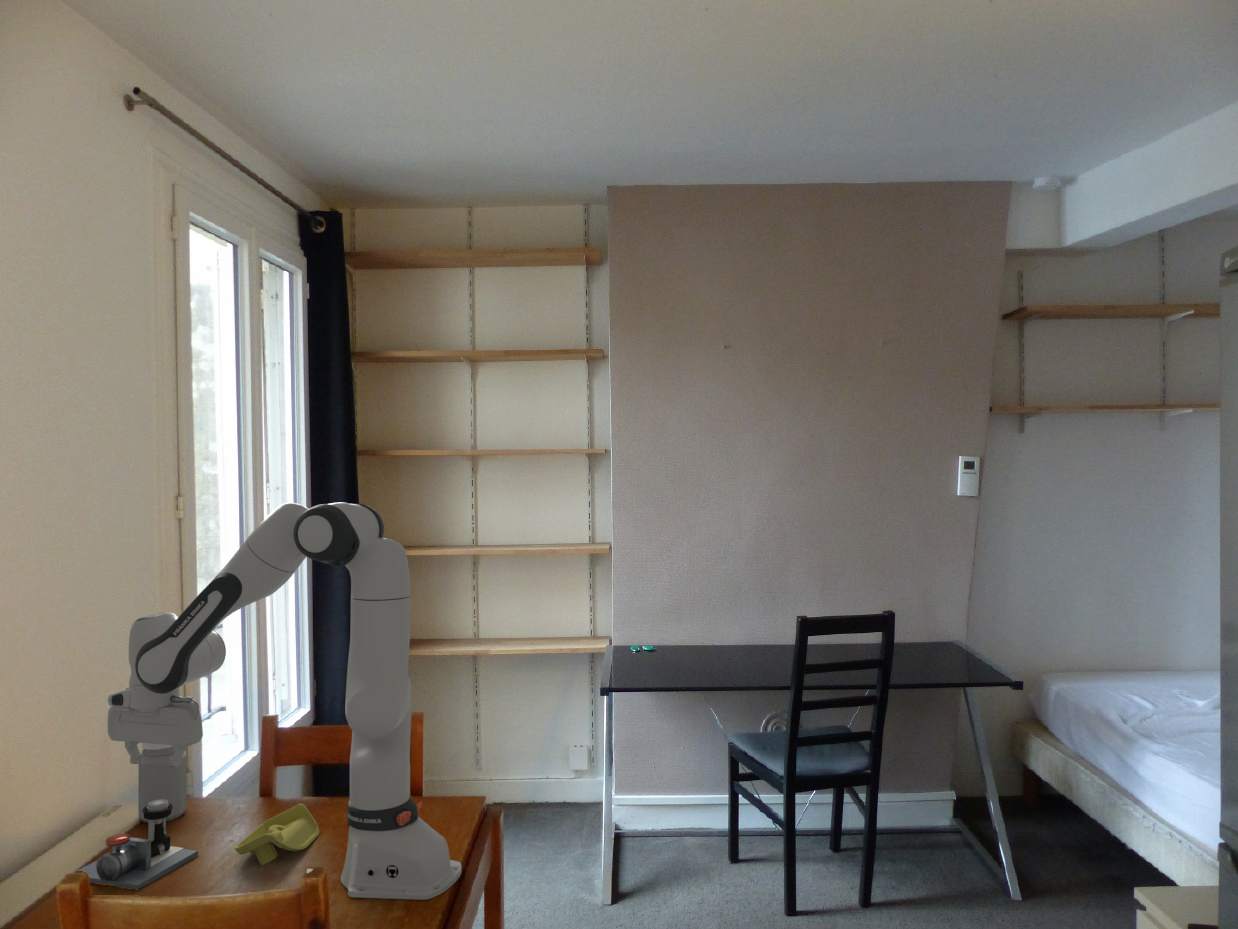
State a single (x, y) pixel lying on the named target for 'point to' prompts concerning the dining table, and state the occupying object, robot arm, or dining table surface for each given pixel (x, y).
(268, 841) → the plastic component
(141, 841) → the fitting
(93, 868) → the board
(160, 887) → the dining table surface
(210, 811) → the dining table surface
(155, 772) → the jar
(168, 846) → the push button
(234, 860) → the dining table surface
